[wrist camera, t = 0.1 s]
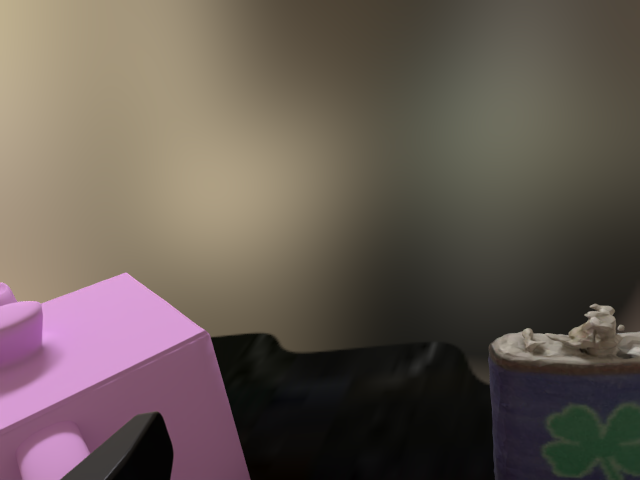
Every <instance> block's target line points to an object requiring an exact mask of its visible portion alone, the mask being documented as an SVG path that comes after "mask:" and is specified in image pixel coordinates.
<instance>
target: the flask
mask: <svg viewBox="0 0 640 480" xmlns="http://www.w3.org/2000/svg"><path fill="white" fill-rule="evenodd" d="M590 308H593V309H596V310H597V311H598V312H597V311H592V312H588V314H585V316H587V317H588V318H589V320H588V321H587V322H586V323H584V324H583V325H581V326H580V327H576V328H574V329H572V330H571V331H570V332H569V335H562V334H559V335H555V334H548V333H546V334H534V333H533V331H532V329H529V328H528V329H525V330H524V331H523V332H519V333H510V334H506V335H503V336H502V337H500V338H497V339H496V340H495V341H494V342H492V343H491V344H490V345H489V358H488V362H489V369H490V389H491V403H492V417H493V431H492V433H493V442H494V453H493V455H494V465H495V469H494V473H495V480H640V332H636V333H619V334H616V331H615V328H616V320H615V317H613V316H612V315H613V314H614V312H615V310H614V309H613V308H612V307H610V306H599V305H597V304H594V305H591V306H590ZM624 329H625V328H624V325H619V327H618V330H620V331H623V330H624Z"/></svg>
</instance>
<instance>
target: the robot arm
mask: <svg viewBox="0 0 640 480" xmlns="http://www.w3.org/2000/svg"><path fill="white" fill-rule="evenodd" d="M173 458H174V452H173V446H172V442H171V439H170V436H169V433H168V430H167V427H166V424H165V421H164V419H163V416H162V415H161V413H159V412H157V411H154V412H148V413H141V414H138V415H136V416H134V417H133V418H132V419H131V420H130V421H128V422H127V423H126V424H125V425H124V426H122V427H121V428H120V429H119V430H118V431H117V432H115V433H114V434H113V435H112V436H111V437H110V438H108V439H107V440H106V441H105V442H104V443H102V444H101V445H100V446H99V447H98V448H97V449H95V450H94V451H93V452H92V453H91V454H90V455H88V456H87V457H86V458H85V459H84V460H82V461H81V462H80V463H79V464H78V465H77V466H75V467H74V468H73V469H72V470H71V471H70V472H68V473H67V474H66V475H65V476H64V477H62V478H61V479H60V480H170V479H171V472H172V466H173Z"/></svg>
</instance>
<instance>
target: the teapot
mask: <svg viewBox="0 0 640 480" xmlns="http://www.w3.org/2000/svg"><path fill="white" fill-rule="evenodd" d="M154 411H157V412H159V413H161V415H162V416H163V419H164V421H165V424H166V427H167V430H168V433H169V436H170V439H171V442H172V446H173V452H174V458H173V466H172V472H171V479H170V480H250V476H249V473H248V469H247V466H246V462H245V459H244V455H243V451H242V448H241V444H240V441H239V437H238V434H237V430H236V427H235V423H234V419H233V416H232V412H231V409H230V405H229V402H228V398H227V395H226V391H225V387H224V384H223V380H222V377H221V373H220V370H219V366H218V363H217V359H216V355H215V352H214V348H213V345H212V341H211V338H210V334H209V333H208V332H207V331H205V330H204V329H202V328H201V327H199V326H198V325H197V324H195V323H194V322H193V321H191V320H190V319H188V318H187V317H186V316H184V315H183V314H182V313H181V312H179V311H178V310H177V309H175V308H174V307H173V306H171V305H170V304H169V303H168V302H166V301H165V300H163V299H162V298H160V297H159V296H158V295H156V294H155V293H154V292H152V291H151V290H150V289H148V288H147V287H145V286H144V285H143V284H141V283H140V282H138V281H137V280H136V279H134V278H133V277H131V276H130V275H128V273H124V274H121V275H118V276H115V277H112V278H110V279H107V280H104V281H101V282H99V283H96V284H93V285H91V286H88V287H85V288H82V289H80V290H77V291H74V292H72V293H69V294H66V295H63V296H61V297H58V298H55V299H53V300H50V301H47V302H44V303H42V304H40V303H39V302H36V301H24V302H23V301H22V302H17V301H16V299H15V297H14V295H13V293H12V291H11V289H10V288H9V286H8V285H6V284H5V283H0V480H60V479H61V478H62V477H64V476H65V475H66V474H67V473H68V472H70V471H71V470H72V469H73V468H74V467H75V466H77V465H78V464H79V463H80V462H81V461H82V460H84V459H85V458H86V457H87V456H88V455H90V454H91V453H92V452H93V451H94V450H95V449H97V448H98V447H99V446H100V445H101V444H102V443H104V442H105V441H106V440H107V439H108V438H110V437H111V436H112V435H113V434H114V433H115V432H117V431H118V430H119V429H120V428H121V427H122V426H124V425H125V424H126V423H127V422H128V421H130V420H131V419H132V418H133V417H134V416H136V415H138V414H141V413H148V412H154Z"/></svg>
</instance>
